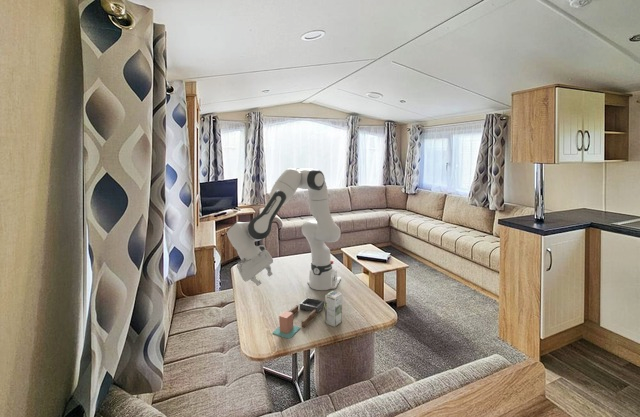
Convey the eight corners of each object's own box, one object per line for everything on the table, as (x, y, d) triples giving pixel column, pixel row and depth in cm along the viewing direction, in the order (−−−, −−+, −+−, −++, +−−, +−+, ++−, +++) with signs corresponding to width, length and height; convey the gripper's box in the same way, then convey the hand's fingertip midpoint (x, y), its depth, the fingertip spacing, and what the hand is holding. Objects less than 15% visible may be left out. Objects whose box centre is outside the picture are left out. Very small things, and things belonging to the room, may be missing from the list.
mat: (283, 323, 144) (283, 322, 144) (300, 328, 140) (300, 327, 140) (272, 333, 137) (272, 332, 136) (289, 339, 132) (289, 338, 132)
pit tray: (307, 302, 165) (307, 297, 164) (324, 306, 160) (324, 300, 160) (299, 309, 158) (299, 303, 157) (317, 313, 153) (316, 307, 153)
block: (286, 326, 141) (285, 310, 140) (293, 328, 140) (293, 312, 138) (279, 331, 137) (279, 316, 136) (287, 333, 135) (286, 318, 134)
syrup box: (332, 318, 149) (332, 289, 146) (342, 322, 145) (342, 293, 142) (325, 323, 144) (324, 294, 142) (335, 327, 141) (335, 297, 138)
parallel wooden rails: (296, 310, 156) (296, 304, 156) (316, 315, 151) (316, 309, 150) (283, 322, 146) (282, 316, 145) (303, 327, 141) (303, 321, 140)
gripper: (239, 261, 134) (256, 288, 134) (266, 244, 152) (281, 268, 152) (231, 266, 137) (247, 293, 137) (258, 249, 155) (272, 273, 155)
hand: (265, 280), depth 145 cm, fingers open, 8 cm apart
